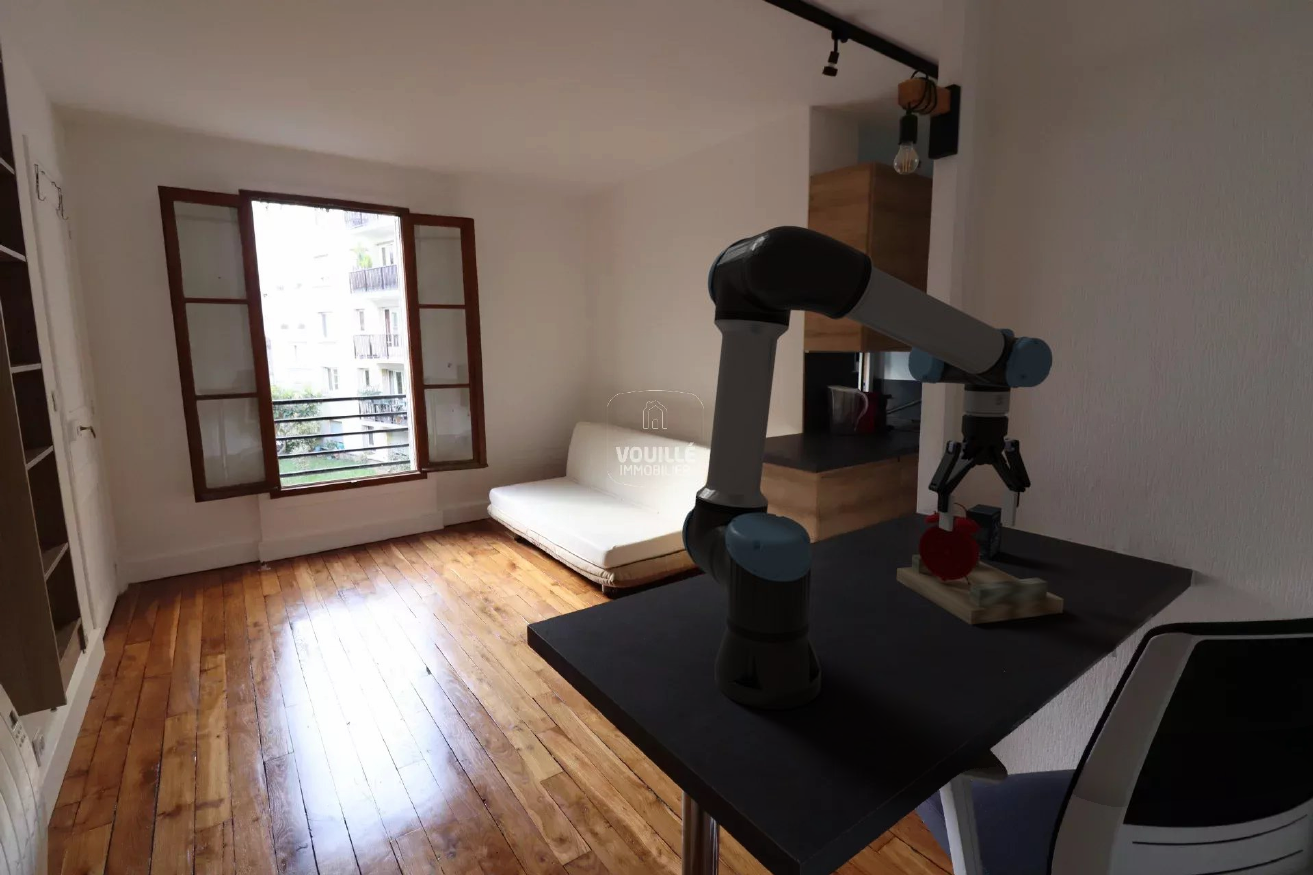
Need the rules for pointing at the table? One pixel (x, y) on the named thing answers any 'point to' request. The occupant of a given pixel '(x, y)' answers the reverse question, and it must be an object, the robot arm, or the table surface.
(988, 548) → the box
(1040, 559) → the table surface
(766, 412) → the robot arm
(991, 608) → the display stand
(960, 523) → the alarm clock
